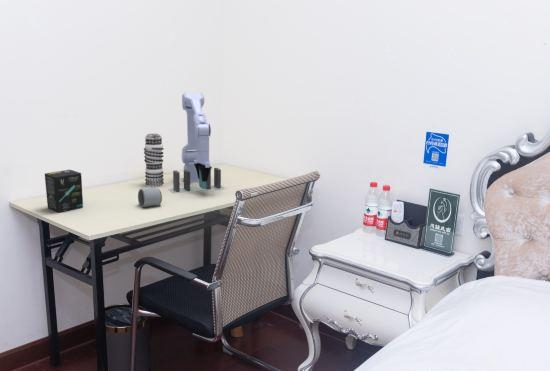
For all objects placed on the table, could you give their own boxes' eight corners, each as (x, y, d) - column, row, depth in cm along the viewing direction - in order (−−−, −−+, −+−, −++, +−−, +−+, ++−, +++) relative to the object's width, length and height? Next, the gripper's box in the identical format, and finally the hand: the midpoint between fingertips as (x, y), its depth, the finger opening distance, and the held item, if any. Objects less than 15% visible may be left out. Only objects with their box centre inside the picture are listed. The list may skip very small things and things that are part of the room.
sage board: (167, 189, 244) (167, 189, 244) (220, 185, 256) (220, 184, 256) (172, 194, 237) (172, 193, 237) (226, 189, 249) (226, 188, 249)
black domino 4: (217, 188, 248) (217, 170, 246) (214, 186, 253) (214, 167, 250) (220, 188, 249) (220, 169, 247) (217, 185, 253) (217, 167, 251)
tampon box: (71, 203, 218) (69, 168, 215) (84, 207, 213) (82, 172, 209) (46, 208, 210) (43, 172, 207) (58, 213, 204) (55, 176, 201)
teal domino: (202, 188, 236) (202, 169, 234) (199, 186, 241) (199, 167, 239) (206, 188, 237) (206, 169, 235) (202, 185, 241) (202, 166, 239)
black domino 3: (207, 189, 246) (207, 170, 244) (204, 186, 250) (204, 168, 248) (210, 189, 247) (210, 170, 245) (207, 186, 251) (207, 168, 249)
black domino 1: (176, 192, 240) (176, 172, 237) (173, 189, 244) (173, 170, 242) (179, 191, 240) (179, 172, 238) (176, 189, 245) (176, 170, 242)
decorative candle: (166, 184, 255) (166, 133, 249) (161, 189, 246) (159, 136, 240) (148, 183, 255) (147, 132, 249) (142, 187, 246) (140, 135, 240)
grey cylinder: (163, 206, 218) (162, 188, 216) (144, 209, 213) (144, 190, 211) (152, 201, 226) (152, 183, 224) (134, 203, 221) (133, 185, 220)
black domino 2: (186, 191, 242) (186, 172, 240) (183, 188, 246) (183, 169, 244) (190, 190, 242) (190, 171, 240) (187, 188, 247) (186, 169, 245)
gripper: (189, 148, 239) (189, 177, 243) (199, 153, 227) (199, 184, 230) (204, 147, 242) (203, 176, 246) (214, 153, 230) (214, 183, 233)
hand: (202, 180), depth 238 cm, fingers closed on teal domino, 5 cm apart
